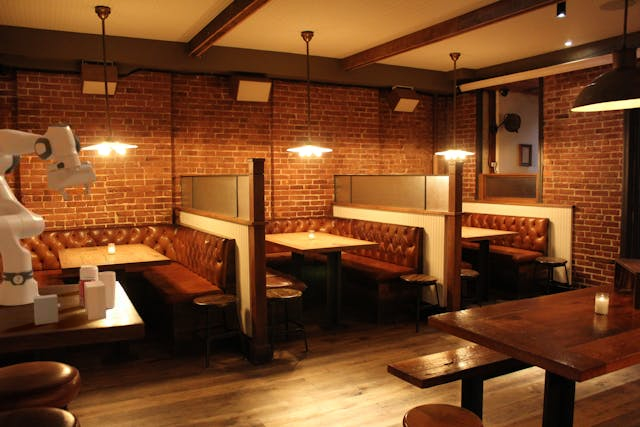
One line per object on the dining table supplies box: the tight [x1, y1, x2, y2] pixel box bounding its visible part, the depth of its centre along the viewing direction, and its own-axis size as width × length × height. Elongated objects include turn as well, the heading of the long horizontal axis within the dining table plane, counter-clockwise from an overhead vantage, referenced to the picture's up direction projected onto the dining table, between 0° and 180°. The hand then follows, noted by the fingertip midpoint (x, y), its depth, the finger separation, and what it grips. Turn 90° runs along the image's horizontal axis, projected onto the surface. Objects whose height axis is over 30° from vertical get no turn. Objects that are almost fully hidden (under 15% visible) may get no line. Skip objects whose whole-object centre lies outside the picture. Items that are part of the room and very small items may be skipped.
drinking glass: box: [98, 271, 117, 310], centre depth 233 cm, size 7×7×15 cm
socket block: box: [84, 280, 107, 321], centre depth 221 cm, size 11×6×13 cm, turn 29°
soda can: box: [78, 277, 95, 308], centre depth 237 cm, size 7×7×12 cm
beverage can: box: [79, 264, 99, 281], centre depth 266 cm, size 8×8×12 cm
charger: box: [33, 293, 61, 326], centre depth 213 cm, size 4×9×10 cm, turn 119°
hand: (77, 197), depth 224 cm, fingers open, 8 cm apart
